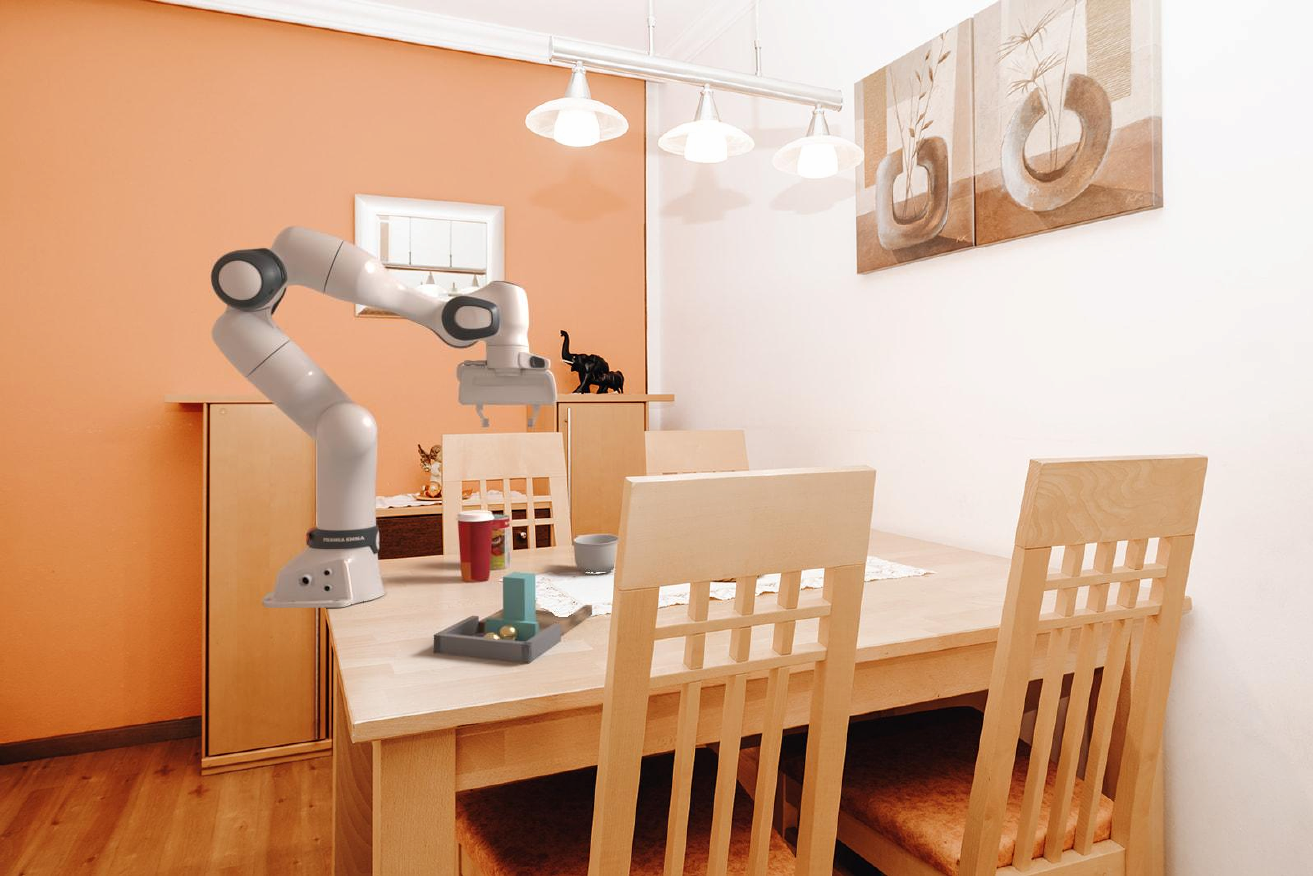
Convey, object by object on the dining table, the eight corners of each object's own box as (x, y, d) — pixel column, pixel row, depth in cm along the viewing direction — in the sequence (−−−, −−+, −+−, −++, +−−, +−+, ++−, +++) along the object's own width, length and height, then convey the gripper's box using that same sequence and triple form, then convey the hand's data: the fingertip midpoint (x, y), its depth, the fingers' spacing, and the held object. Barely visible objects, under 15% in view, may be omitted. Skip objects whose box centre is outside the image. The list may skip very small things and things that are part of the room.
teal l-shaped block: (501, 628, 134) (501, 571, 133) (548, 633, 131) (548, 574, 130) (486, 637, 129) (485, 577, 128) (535, 642, 126) (535, 581, 126)
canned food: (475, 564, 188) (475, 515, 187) (508, 562, 190) (508, 514, 189) (476, 570, 180) (476, 519, 180) (510, 569, 182) (510, 518, 181)
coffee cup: (499, 575, 175) (499, 510, 174) (487, 584, 167) (487, 515, 166) (463, 574, 176) (463, 509, 175) (450, 583, 168) (449, 514, 167)
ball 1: (488, 657, 121) (480, 652, 119) (484, 640, 123) (476, 634, 121) (505, 650, 121) (497, 644, 119) (501, 632, 123) (493, 627, 120)
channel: (521, 609, 147) (521, 599, 146) (592, 616, 142) (592, 605, 142) (476, 634, 131) (475, 622, 131) (553, 642, 126) (553, 630, 126)
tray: (472, 633, 132) (472, 615, 131) (560, 642, 127) (560, 624, 127) (433, 653, 121) (433, 634, 120) (529, 664, 116) (528, 645, 116)
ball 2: (497, 648, 125) (495, 635, 123) (501, 633, 127) (499, 621, 125) (516, 648, 125) (514, 636, 123) (519, 633, 127) (517, 621, 125)
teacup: (628, 573, 178) (628, 539, 178) (585, 578, 172) (585, 543, 172) (600, 562, 190) (600, 530, 190) (560, 567, 184) (560, 534, 184)
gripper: (455, 359, 156) (456, 427, 156) (557, 360, 160) (558, 427, 161) (456, 360, 162) (457, 426, 162) (554, 362, 166) (555, 426, 167)
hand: (508, 427), depth 162 cm, fingers open, 8 cm apart
